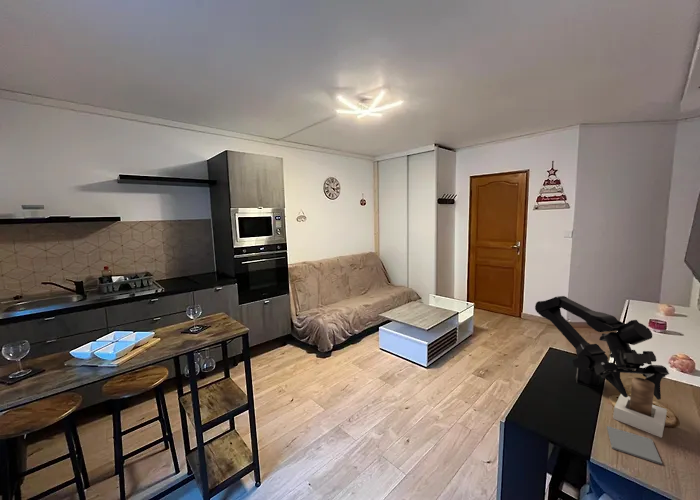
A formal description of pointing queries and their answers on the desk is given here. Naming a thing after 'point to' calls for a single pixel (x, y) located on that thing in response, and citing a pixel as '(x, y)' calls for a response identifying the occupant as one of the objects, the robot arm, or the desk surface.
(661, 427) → the frame
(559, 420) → the desk surface
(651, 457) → the pad
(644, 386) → the peg
